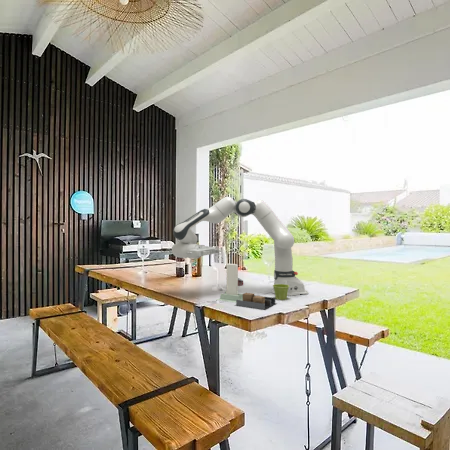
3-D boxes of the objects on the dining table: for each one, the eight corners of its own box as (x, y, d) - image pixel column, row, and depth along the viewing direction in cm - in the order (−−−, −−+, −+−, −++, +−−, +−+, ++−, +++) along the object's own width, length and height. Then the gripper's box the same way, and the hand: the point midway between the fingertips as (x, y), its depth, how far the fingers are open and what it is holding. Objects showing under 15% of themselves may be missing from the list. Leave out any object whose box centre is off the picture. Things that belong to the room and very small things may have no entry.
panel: (228, 298, 204) (228, 263, 203) (237, 299, 201) (237, 264, 200) (226, 298, 202) (226, 264, 201) (235, 300, 199) (235, 264, 198)
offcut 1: (246, 303, 191) (246, 292, 191) (254, 304, 189) (254, 293, 188) (242, 305, 188) (242, 293, 188) (251, 306, 185) (251, 295, 185)
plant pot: (280, 303, 197) (281, 287, 196) (269, 300, 204) (269, 285, 204) (292, 301, 202) (292, 286, 202) (280, 297, 210) (281, 283, 210)
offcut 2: (256, 305, 188) (256, 295, 188) (264, 306, 186) (264, 296, 185) (252, 306, 185) (252, 297, 184) (261, 307, 182) (261, 298, 182)
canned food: (233, 289, 255) (237, 276, 259) (244, 290, 249) (247, 276, 253) (224, 284, 248) (227, 271, 252) (235, 284, 241) (238, 271, 245)
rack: (247, 301, 201) (247, 294, 201) (277, 305, 192) (277, 298, 191) (234, 307, 187) (234, 299, 187) (265, 312, 178) (265, 304, 178)
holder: (226, 297, 210) (226, 290, 210) (247, 300, 203) (247, 293, 203) (216, 301, 200) (216, 294, 200) (237, 305, 193) (237, 297, 192)
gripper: (184, 247, 205) (204, 248, 198) (204, 244, 222) (223, 245, 215) (184, 258, 205) (204, 259, 198) (204, 254, 222) (223, 255, 215)
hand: (214, 252), depth 207 cm, fingers open, 8 cm apart
